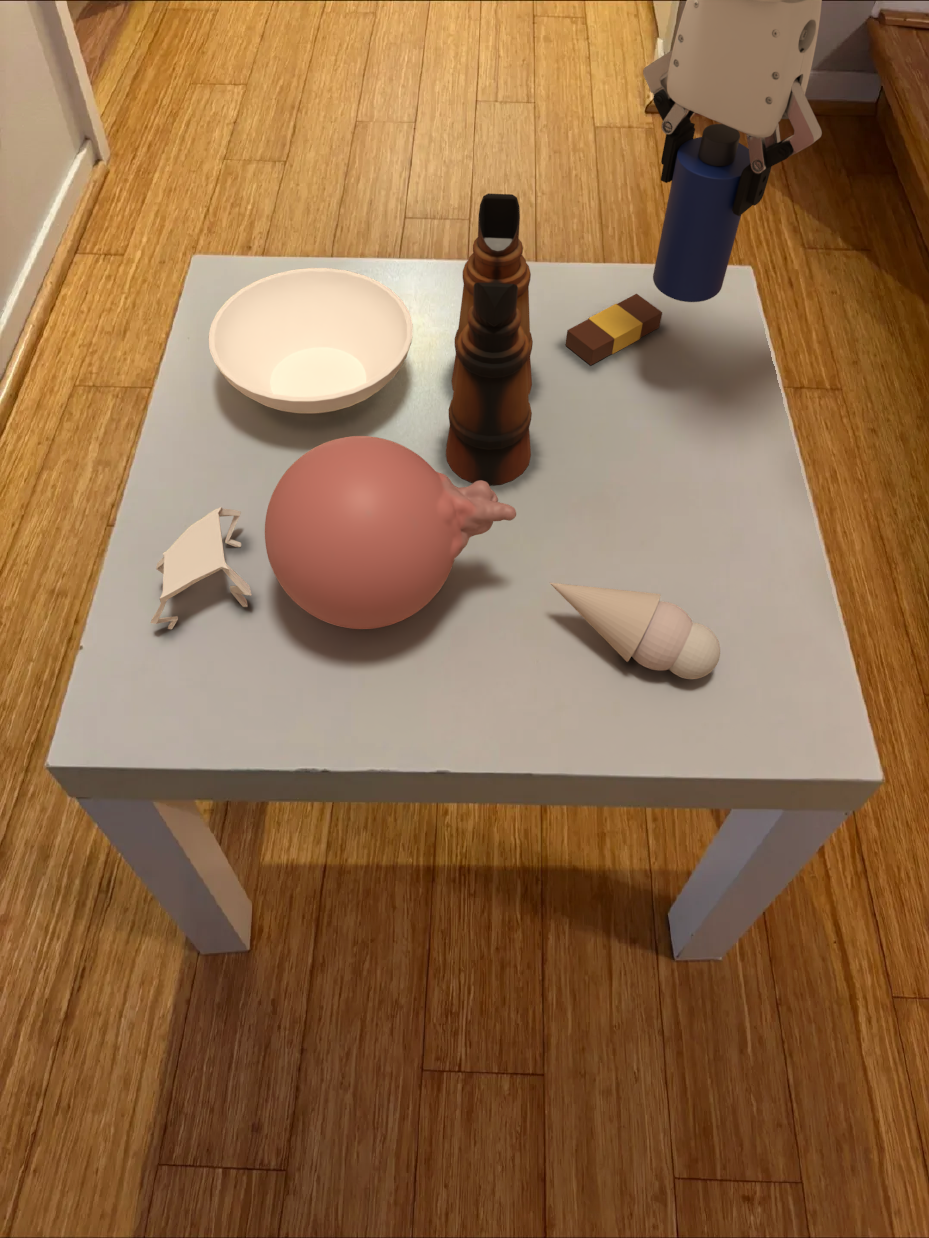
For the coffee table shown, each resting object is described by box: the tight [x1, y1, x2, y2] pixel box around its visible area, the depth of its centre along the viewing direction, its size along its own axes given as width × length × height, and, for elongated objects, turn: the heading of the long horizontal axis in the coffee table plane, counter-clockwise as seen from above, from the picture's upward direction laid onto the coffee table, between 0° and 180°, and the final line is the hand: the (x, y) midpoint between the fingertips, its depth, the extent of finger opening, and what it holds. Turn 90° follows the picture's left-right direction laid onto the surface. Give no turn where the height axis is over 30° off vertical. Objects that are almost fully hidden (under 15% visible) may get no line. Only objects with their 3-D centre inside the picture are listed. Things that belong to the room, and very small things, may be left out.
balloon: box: [264, 435, 517, 630], centre depth 79 cm, size 15×20×15 cm
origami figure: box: [150, 506, 252, 630], centre depth 83 cm, size 12×8×5 cm
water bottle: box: [652, 123, 750, 303], centre depth 85 cm, size 6×6×14 cm
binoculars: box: [445, 193, 534, 486], centre depth 89 cm, size 18×8×20 cm, turn 177°
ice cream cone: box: [549, 582, 721, 680], centre depth 80 cm, size 6×6×15 cm
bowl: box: [208, 267, 414, 414], centre depth 97 cm, size 20×20×7 cm
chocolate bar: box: [565, 293, 663, 366], centre depth 104 cm, size 10×4×2 cm, turn 128°
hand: (708, 190), depth 83 cm, fingers closed on water bottle, 6 cm apart
